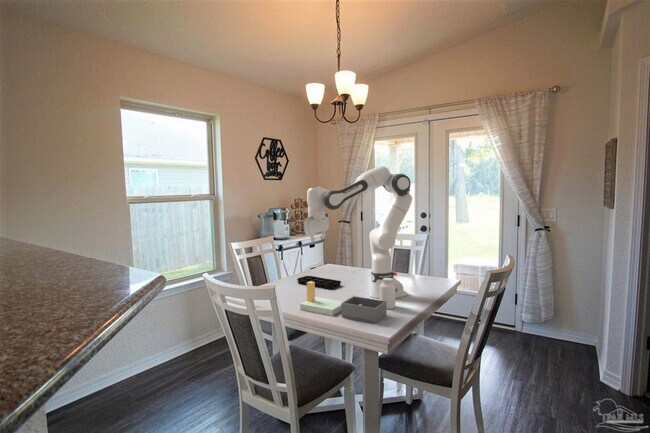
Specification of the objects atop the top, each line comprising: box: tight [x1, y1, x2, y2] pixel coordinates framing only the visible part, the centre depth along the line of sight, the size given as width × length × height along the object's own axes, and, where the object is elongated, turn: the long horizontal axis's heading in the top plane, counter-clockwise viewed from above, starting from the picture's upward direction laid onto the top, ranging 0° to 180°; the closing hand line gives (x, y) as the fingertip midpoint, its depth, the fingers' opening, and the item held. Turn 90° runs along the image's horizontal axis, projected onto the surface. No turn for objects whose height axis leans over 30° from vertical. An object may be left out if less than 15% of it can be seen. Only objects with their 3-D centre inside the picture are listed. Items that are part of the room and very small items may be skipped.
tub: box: [340, 295, 387, 324], centre depth 173 cm, size 18×13×7 cm
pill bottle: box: [379, 278, 396, 310], centre depth 186 cm, size 8×8×15 cm
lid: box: [299, 281, 345, 317], centre depth 185 cm, size 19×14×13 cm
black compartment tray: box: [296, 275, 342, 291], centre depth 233 cm, size 18×30×4 cm, turn 65°
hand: (318, 240), depth 199 cm, fingers open, 8 cm apart
